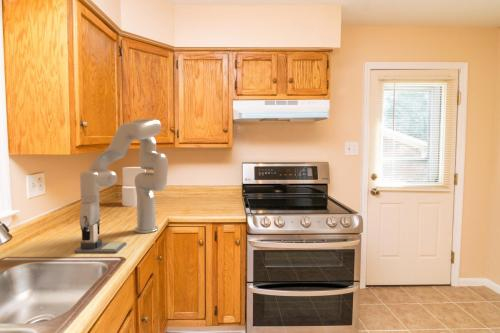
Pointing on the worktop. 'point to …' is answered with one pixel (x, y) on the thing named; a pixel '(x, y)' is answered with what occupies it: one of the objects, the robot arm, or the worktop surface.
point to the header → (100, 247)
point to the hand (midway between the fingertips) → (91, 237)
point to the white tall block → (130, 185)
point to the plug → (93, 233)
